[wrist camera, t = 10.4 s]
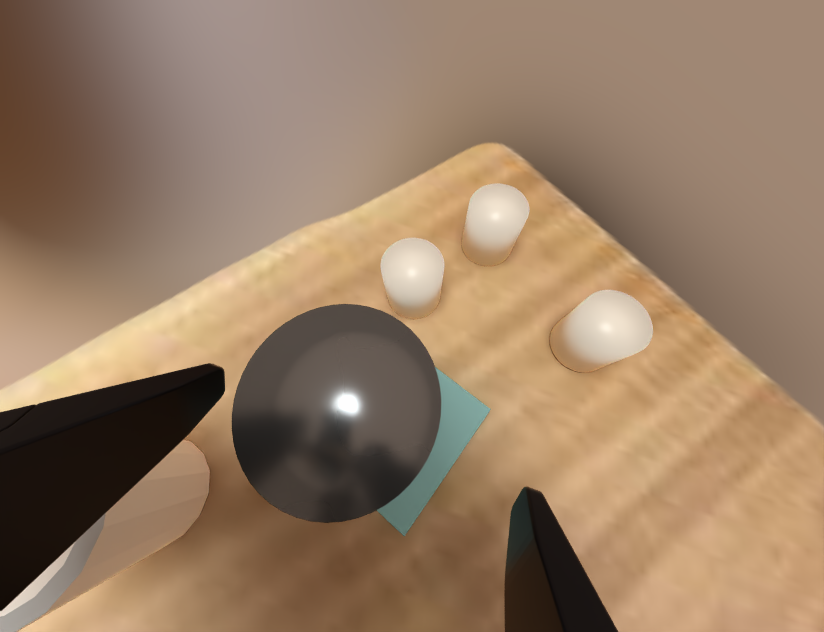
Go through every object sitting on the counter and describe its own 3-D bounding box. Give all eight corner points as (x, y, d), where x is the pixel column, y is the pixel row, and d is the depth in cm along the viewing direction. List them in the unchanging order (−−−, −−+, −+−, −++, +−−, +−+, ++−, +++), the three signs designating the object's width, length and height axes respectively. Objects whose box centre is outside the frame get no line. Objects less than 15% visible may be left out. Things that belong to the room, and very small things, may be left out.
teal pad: (404, 534, 17) (404, 536, 16) (298, 433, 19) (295, 433, 18) (489, 409, 19) (490, 409, 18) (386, 331, 21) (385, 329, 20)
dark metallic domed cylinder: (399, 477, 17) (343, 581, 5) (345, 430, 18) (188, 420, 6) (443, 416, 18) (482, 381, 6) (389, 374, 19) (331, 271, 7)
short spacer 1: (418, 329, 21) (418, 306, 17) (376, 298, 22) (367, 270, 18) (450, 289, 22) (457, 259, 18) (409, 262, 22) (407, 227, 19)
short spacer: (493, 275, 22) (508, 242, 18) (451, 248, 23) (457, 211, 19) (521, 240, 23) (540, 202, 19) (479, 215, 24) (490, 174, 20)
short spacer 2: (610, 376, 19) (658, 359, 15) (550, 368, 19) (583, 349, 16) (605, 321, 21) (647, 294, 17) (548, 314, 21) (578, 285, 17)
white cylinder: (129, 599, 16) (-73, 713, 9) (76, 487, 18) (-123, 516, 11) (244, 495, 18) (139, 530, 11) (184, 401, 19) (64, 384, 13)
